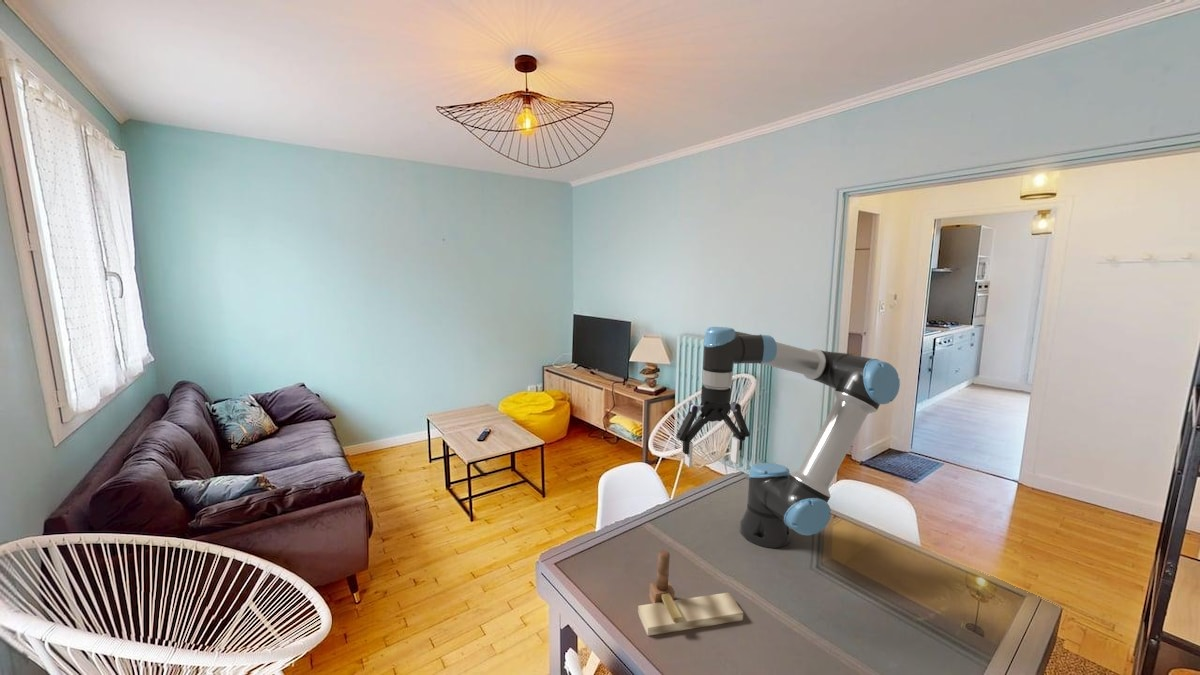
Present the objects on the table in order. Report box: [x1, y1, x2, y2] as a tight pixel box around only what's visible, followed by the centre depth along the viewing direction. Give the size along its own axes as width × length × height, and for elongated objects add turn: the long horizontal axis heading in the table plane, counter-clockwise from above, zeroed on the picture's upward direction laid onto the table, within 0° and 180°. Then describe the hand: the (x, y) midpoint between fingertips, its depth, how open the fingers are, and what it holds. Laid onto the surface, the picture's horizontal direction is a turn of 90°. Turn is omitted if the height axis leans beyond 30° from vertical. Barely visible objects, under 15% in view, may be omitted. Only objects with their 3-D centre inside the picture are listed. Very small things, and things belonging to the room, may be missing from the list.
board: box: [637, 592, 744, 637], centre depth 106 cm, size 24×7×2 cm, turn 103°
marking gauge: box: [648, 549, 682, 622], centre depth 106 cm, size 5×12×13 cm, turn 13°
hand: (711, 463), depth 119 cm, fingers open, 13 cm apart
